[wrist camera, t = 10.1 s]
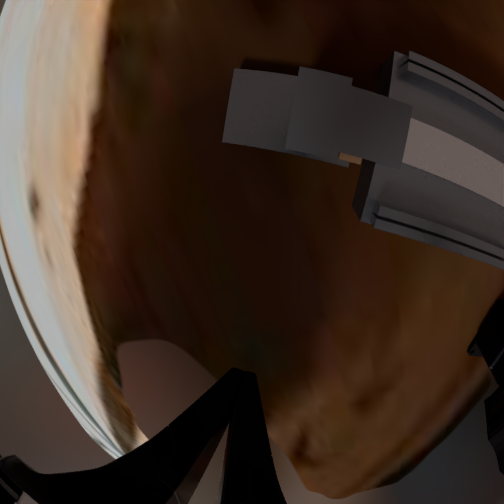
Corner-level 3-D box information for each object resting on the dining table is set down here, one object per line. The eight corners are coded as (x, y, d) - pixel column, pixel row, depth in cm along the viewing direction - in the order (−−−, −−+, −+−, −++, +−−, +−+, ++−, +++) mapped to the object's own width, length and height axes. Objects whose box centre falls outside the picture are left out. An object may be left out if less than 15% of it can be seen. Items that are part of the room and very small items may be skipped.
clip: (388, 107, 13) (414, 98, 9) (376, 167, 15) (397, 178, 11) (302, 84, 14) (299, 66, 10) (291, 145, 16) (284, 148, 12)
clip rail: (360, 93, 14) (363, 91, 13) (346, 165, 16) (348, 167, 16) (238, 71, 15) (234, 68, 14) (226, 141, 17) (222, 142, 17)
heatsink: (519, 136, 12) (558, 143, 7) (489, 251, 16) (521, 280, 11) (350, 56, 13) (363, 30, 9) (323, 198, 18) (327, 220, 13)
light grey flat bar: (532, 185, 10) (537, 187, 10) (523, 218, 11) (528, 221, 11) (358, 102, 11) (360, 100, 11) (349, 146, 12) (351, 146, 12)
